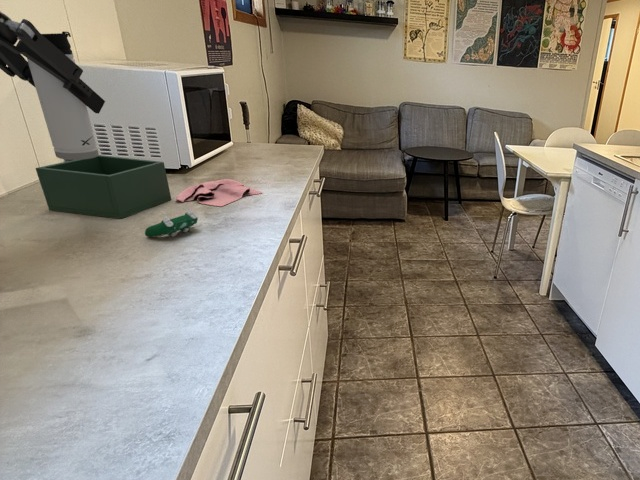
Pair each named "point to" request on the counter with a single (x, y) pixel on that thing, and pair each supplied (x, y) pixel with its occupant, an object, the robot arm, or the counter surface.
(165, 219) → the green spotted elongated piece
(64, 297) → the counter surface
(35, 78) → the travel mug
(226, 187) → the cloth
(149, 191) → the tote
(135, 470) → the counter surface
